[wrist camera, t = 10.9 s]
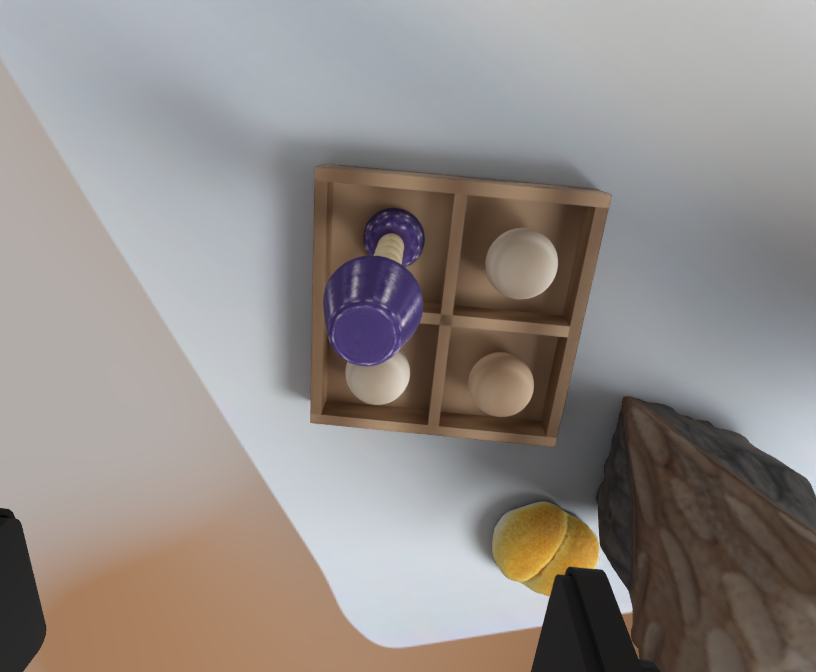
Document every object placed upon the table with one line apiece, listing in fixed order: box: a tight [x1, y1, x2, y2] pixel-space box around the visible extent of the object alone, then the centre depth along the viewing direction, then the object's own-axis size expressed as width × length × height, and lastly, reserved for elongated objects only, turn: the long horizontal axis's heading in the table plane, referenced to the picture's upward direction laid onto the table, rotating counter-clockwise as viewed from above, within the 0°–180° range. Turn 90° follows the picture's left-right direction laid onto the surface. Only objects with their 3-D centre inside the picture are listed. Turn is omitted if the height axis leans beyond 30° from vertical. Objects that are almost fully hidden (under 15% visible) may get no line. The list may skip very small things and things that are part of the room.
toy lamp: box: [323, 208, 425, 366], centre depth 29 cm, size 5×5×17 cm
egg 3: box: [468, 352, 534, 417], centre depth 38 cm, size 5×5×5 cm
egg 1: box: [345, 350, 410, 405], centre depth 38 cm, size 5×5×5 cm
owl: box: [596, 396, 816, 672], centre depth 34 cm, size 13×13×20 cm
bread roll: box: [492, 501, 599, 596], centre depth 45 cm, size 8×9×4 cm
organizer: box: [310, 164, 612, 447], centre depth 37 cm, size 18×18×3 cm
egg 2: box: [485, 228, 558, 299], centre depth 34 cm, size 5×5×5 cm
